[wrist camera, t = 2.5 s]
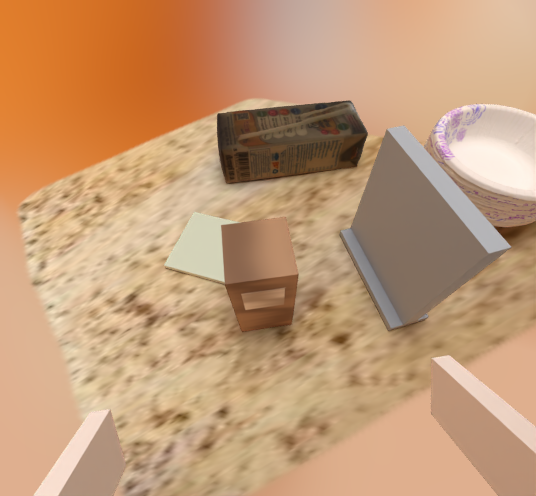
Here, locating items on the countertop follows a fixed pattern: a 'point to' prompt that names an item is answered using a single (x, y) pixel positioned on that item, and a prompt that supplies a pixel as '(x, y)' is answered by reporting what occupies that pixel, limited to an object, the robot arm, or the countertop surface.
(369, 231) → the slate panel
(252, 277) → the brown tall rectangular block
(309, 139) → the beverage carton
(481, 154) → the paper bowls
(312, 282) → the countertop surface
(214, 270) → the sage tile
